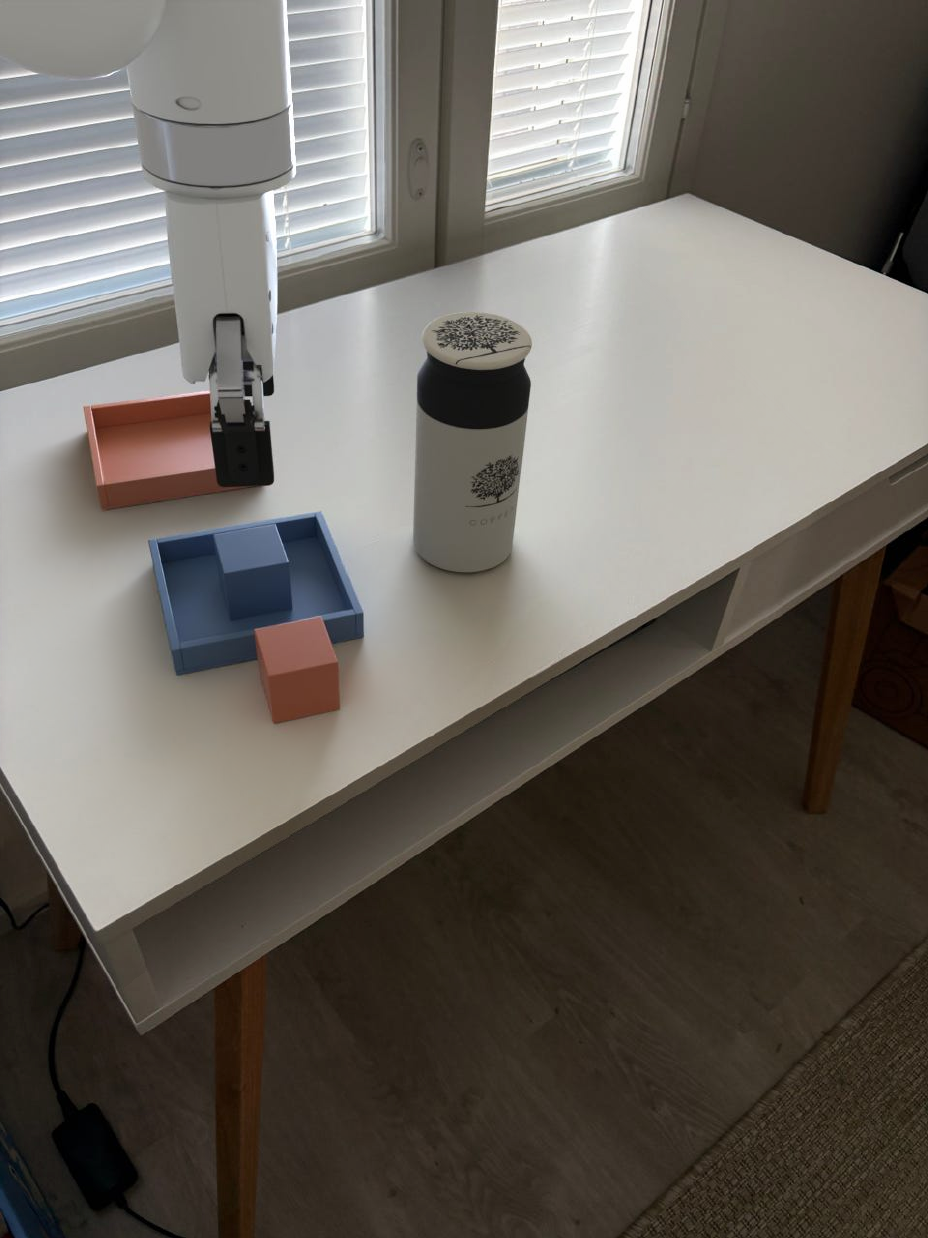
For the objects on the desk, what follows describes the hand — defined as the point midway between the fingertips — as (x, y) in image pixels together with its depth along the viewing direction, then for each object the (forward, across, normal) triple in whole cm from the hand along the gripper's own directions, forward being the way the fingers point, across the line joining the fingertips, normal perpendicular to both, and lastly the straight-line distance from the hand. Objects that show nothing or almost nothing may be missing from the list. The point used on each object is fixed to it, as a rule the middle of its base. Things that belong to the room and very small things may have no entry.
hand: (247, 436), depth 61 cm
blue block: (+16, -3, -1) cm, 16 cm away
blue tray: (+16, -3, -1) cm, 16 cm away
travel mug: (+16, -9, +15) cm, 24 cm away
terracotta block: (+16, +6, +2) cm, 17 cm away
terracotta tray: (+16, -22, -8) cm, 28 cm away
